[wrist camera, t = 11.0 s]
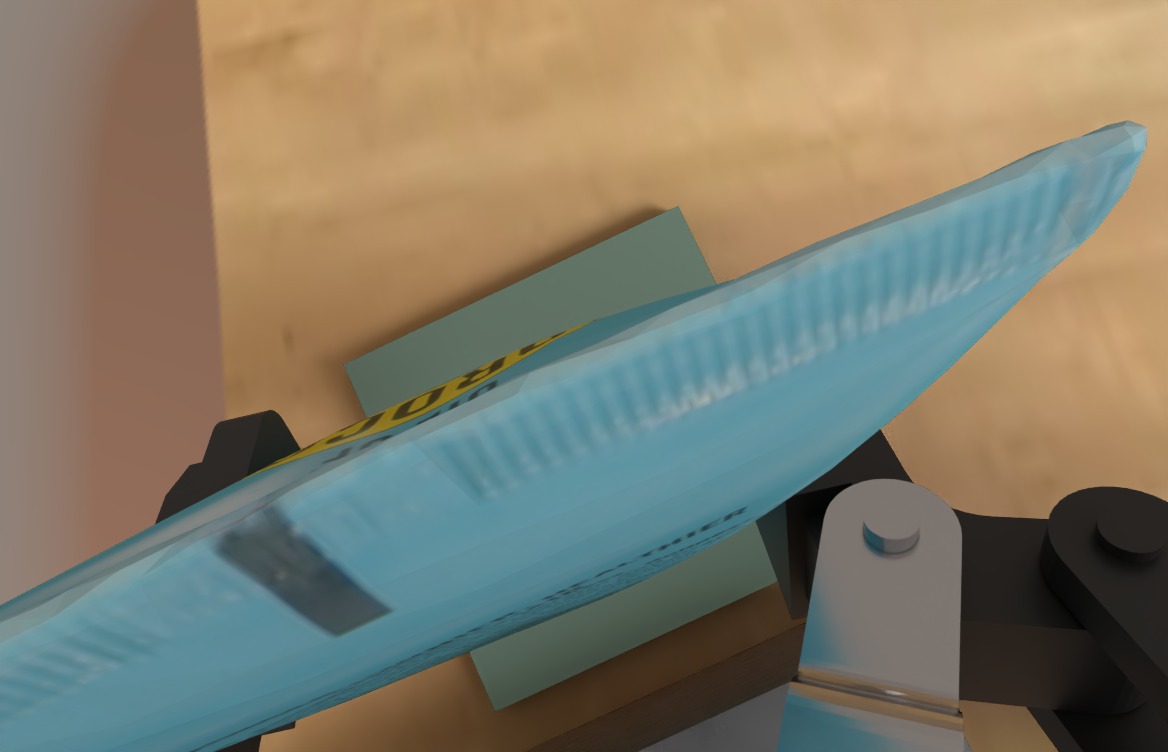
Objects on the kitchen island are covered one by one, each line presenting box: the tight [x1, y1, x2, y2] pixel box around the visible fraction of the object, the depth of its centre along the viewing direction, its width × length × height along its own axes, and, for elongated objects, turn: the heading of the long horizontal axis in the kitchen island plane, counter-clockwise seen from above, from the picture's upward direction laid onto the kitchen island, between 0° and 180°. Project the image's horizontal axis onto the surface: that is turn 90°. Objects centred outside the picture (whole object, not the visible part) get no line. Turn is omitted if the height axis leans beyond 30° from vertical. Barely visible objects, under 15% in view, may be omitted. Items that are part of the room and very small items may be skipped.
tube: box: [0, 121, 1147, 752], centre depth 12 cm, size 7×5×19 cm, turn 120°
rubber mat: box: [344, 206, 778, 712], centre depth 31 cm, size 14×14×1 cm
